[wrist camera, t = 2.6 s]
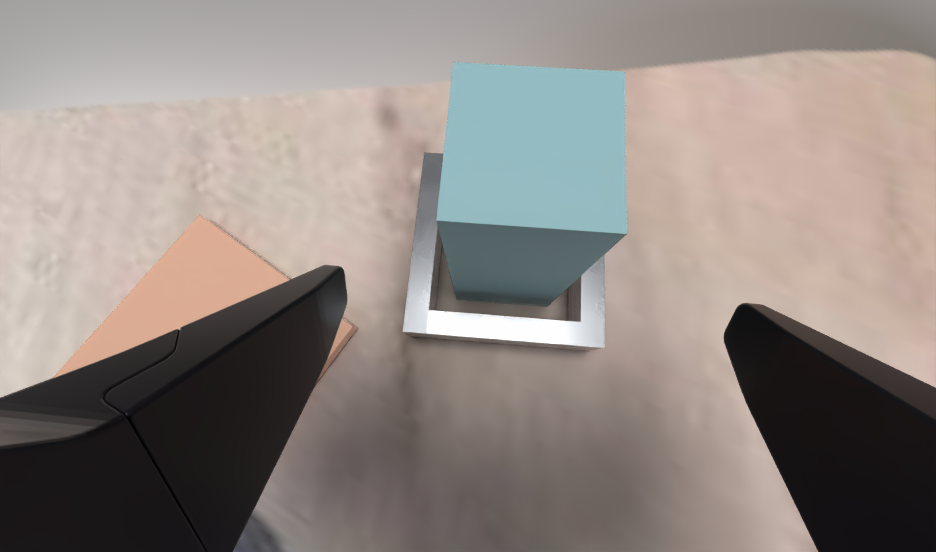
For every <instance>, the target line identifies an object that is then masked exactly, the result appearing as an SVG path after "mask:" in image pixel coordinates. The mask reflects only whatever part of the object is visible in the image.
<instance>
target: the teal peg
mask: <svg viewBox="0 0 936 552" xmlns="http://www.w3.org/2000/svg"><path fill="white" fill-rule="evenodd" d="M436 221H437V225H438V229H439V233H440V237H441V241H442V245H443V249H444V253H445V256H446V260H447V264H448V268H449V272H450V276H451V280H452V284H453V288H454V292H455V296H456V300H469V301H482V302H494V303H507V304H520V305H533V306H546V307H547V306H548V305H550V304H551V303H552V302H553V301H554V300H555V299H556V298H557V297H558V296H559V295H560V294H562V293H563V292H564V291H565V290H566V289H567V288H568V287H569V286H570V285H571V284H573V283H574V282H575V281H576V280H577V279H578V278H579V277H580V276H581V275H582V274H584V273H585V272H586V271H587V270H588V269H589V268H590V267H591V266H592V265H593V264H594V263H596V262H597V261H598V260H599V259H600V258H601V257H602V256H603V255H604V254H605V253H607V252H608V251H609V250H610V249H611V248H612V247H613V246H614V245H615V244H616V243H617V242H619V241H620V240H621V239H622V238H623V237H624V236H625V235H626V234H627V210H626V140H625V72H621V71H603V70H585V69H567V68H547V67H531V66H530V67H529V66H512V65H494V64H476V63H475V64H474V63H459V62H454V63H453V70H452V79H451V89H450V98H449V107H448V117H447V126H446V135H445V145H444V154H443V163H442V173H441V182H440V191H439V200H438V210H437V219H436Z"/></svg>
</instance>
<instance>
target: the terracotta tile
mask: <svg viewBox="0 0 936 552" xmlns="http://www.w3.org/2000/svg"><path fill="white" fill-rule="evenodd" d="M289 280H291V279H289V278H288V277H286V276H285V275H284V274H282V273H281V272H280V271H278V270H277V269H275V268H274V267H273V266H271V265H270V264H269V263H267V262H266V261H264V260H263V259H262V258H260V257H259V256H258V255H256V254H255V253H254V252H252V251H251V250H249V249H248V248H247V247H245V246H244V245H243V244H241V243H240V242H238V241H237V240H236V239H234V238H233V237H232V236H230V235H229V234H227V233H226V232H225V231H223V230H222V229H221V228H219V227H218V226H216V225H215V224H214V223H212V222H211V221H210V220H208V219H206V218H204V217H203V216H201V215H199V216H198V217H197V218H196V219H195V220H194V221H193V222H192V224H191V225H190V226H189V227H188V228H187V229H186V230H185V231H184V233H183V234H182V235H181V236H180V237H179V238H178V239H177V240H176V241H175V243H174V244H173V245H172V246H171V247H170V248H169V249H168V250H167V251H166V253H165V254H164V255H163V256H162V257H161V258H160V259H159V260H158V261H157V263H156V264H155V265H154V266H153V267H152V268H151V269H150V270H149V271H148V273H147V274H146V275H145V276H144V277H143V278H142V279H141V280H140V281H139V283H138V284H137V285H136V286H135V287H134V288H133V289H132V290H131V291H130V293H129V294H128V295H127V296H126V297H125V298H124V299H123V300H122V301H121V303H120V304H119V305H118V306H117V307H116V308H115V309H114V310H113V311H112V313H111V314H110V315H109V316H108V317H107V318H106V319H105V320H104V321H103V323H102V324H101V325H100V326H99V327H98V328H97V329H96V330H95V331H94V333H93V334H92V335H91V336H90V337H89V338H88V339H87V340H86V341H85V343H84V344H83V345H82V346H81V347H80V348H79V349H78V350H77V351H76V353H75V354H74V355H73V356H72V357H71V358H70V359H69V360H68V361H67V363H66V364H65V365H64V366H63V367H62V368H61V369H60V370H59V371H58V373H57V374H56V375H55V376H54V377H57V376H60V375H62V374H65V373H68V372H70V371H73V370H76V369H78V368H81V367H84V366H86V365H89V364H92V363H94V362H97V361H99V360H102V359H105V358H107V357H110V356H112V355H115V354H118V353H120V352H123V351H125V350H128V349H130V348H133V347H135V346H137V345H140V344H142V343H145V342H147V341H149V340H152V339H154V338H157V337H159V336H161V335H164V334H166V333H168V332H170V331H173V330H175V329H179V330H180V328H181V327H182V326H185V325H187V324H189V323H191V322H194V321H196V320H198V319H201V318H203V317H205V316H208V315H210V314H212V313H215V312H217V311H219V310H222V309H224V308H226V307H228V306H231V305H233V304H235V303H238V302H240V301H242V300H245V299H247V298H249V297H252V296H254V295H256V294H259V293H261V292H263V291H265V290H268V289H270V288H272V287H275V286H277V285H279V284H282V283H284V282H286V281H289ZM356 330H357V328H356V327H355V326H354V325H352V324H351V323H350V322H348V321H347V320H345V319H344V318H343V317H342V320H341V323H340V326H339V328H338V331H337V334H336V337H335V340H334V343H333V346H332V349H331V351H330V354H329V357H328V359H327V361H326V364H325V366H324V368H323V370H322V372H321V374H320V376H319V378H318V380H319V379H320V378H321V376H322V375H323V374H324V372H325V371H326V370H327V368H328V367H329V366H330V364H331V363H332V362H333V360H334V359H335V358H336V356H337V355H338V354H339V352H340V351H341V350H342V348H343V347H344V346H345V344H346V343H347V342H348V340H349V339H350V338H351V336H352V335H353V334H354V332H355V331H356ZM54 377H53V378H54ZM318 380H317V382H318ZM317 382H316V383H317Z"/></svg>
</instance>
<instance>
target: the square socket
mask: <svg viewBox="0 0 936 552" xmlns="http://www.w3.org/2000/svg"><path fill="white" fill-rule="evenodd" d="M442 163H443V154H439V153H424V159H423V167H422V176H421V184H420V192H419V200H418V209H417V217H416V225H415V234H414V242H413V250H412V259H411V267H410V275H409V284H408V292H407V300H406V309H405V317H404V325H403V332H405V333H406V334H408V335H410V336H412V337H423V338H435V339H447V340H459V341H472V342H484V343H496V344H509V345H521V346H533V347H546V348H558V349H570V350H582V351H590V350H596V349H601V348H604V309H605V254H604V255H603V256H602V257H601V258H600V259H599V260H598V261H597V262H596V263H594V264H593V265H592V266H591V267H590V268H589V269H588V270H587V271H586V272H585V273H584V274H582V275H581V276H580V277H579V278H578V279H577V280H576V281H575V282H574V283H573V284H571V285H570V286H569V287H568V320H567V321H561V320H548V319H536V318H523V317H510V316H497V315H485V314H472V313H459V312H447V311H435V307H436V297H437V288H438V278H439V268H440V258H441V249H442V241H441V237H440V233H439V229H438V225H437V221H436V219H437V210H438V200H439V191H440V182H441V173H442Z"/></svg>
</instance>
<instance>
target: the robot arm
mask: <svg viewBox="0 0 936 552" xmlns="http://www.w3.org/2000/svg"><path fill="white" fill-rule="evenodd" d="M346 305H347V290H346V281H345V274H344V270H343V268H342V267H340V266H331V265H323V266H321V267H319V268H316V269H314V270H312V271H309V272H307V273H305V274H302V275H300V276H298V277H296V278H293V279H291V280H289V281H286V282H284V283H282V284H279V285H277V286H275V287H272V288H270V289H268V290H265V291H263V292H261V293H259V294H256V295H254V296H252V297H249V298H247V299H245V300H242V301H240V302H238V303H235V304H233V305H231V306H228V307H226V308H224V309H222V310H219V311H217V312H215V313H212V314H210V315H208V316H205V317H203V318H201V319H198V320H196V321H194V322H191V323H189V324H187V325H185V326H182V327H181V328H180V330H179V329H175V330H173V331H170V332H168V333H166V334H164V335H161V336H159V337H157V338H154V339H152V340H149V341H147V342H145V343H142V344H140V345H137V346H135V347H133V348H130V349H128V350H125V351H123V352H120V353H118V354H115V355H112V356H110V357H107V358H105V359H102V360H99V361H97V362H94V363H92V364H89V365H86V366H84V367H81V368H78V369H76V370H73V371H70V372H68V373H65V374H62V375H60V376H57V377H54V378H52V379H49V380H46V381H44V382H41V383H38V384H36V385H33V386H30V387H28V388H25V389H22V390H20V391H17V392H14V393H12V394H9V395H6V396H4V397H1V398H0V552H233V550H234V548H235V546H236V544H237V542H238V540H239V538H240V536H241V534H242V532H243V530H244V528H245V526H246V524H247V522H248V520H249V518H250V516H251V514H252V512H253V510H254V508H255V506H256V504H257V502H258V500H259V498H260V496H261V494H262V492H263V490H264V488H265V486H266V484H267V481H268V479H269V477H270V475H271V473H272V471H273V469H274V467H275V465H276V463H277V461H278V459H279V457H280V455H281V453H282V451H283V449H284V447H285V445H286V443H287V441H288V439H289V437H290V435H291V433H292V431H293V429H294V427H295V425H296V423H297V421H298V419H299V417H300V415H301V413H302V411H303V409H304V407H305V404H306V402H307V400H308V398H309V396H310V394H311V392H312V390H313V388H314V386H315V384H316V382H317V380H318V378H319V376H320V374H321V372H322V370H323V368H324V366H325V364H326V361H327V359H328V357H329V354H330V351H331V349H332V346H333V343H334V340H335V337H336V334H337V331H338V328H339V326H340V323H341V320H342V317H343V314H344V311H345V308H346ZM724 343H725V346H726V349H727V352H728V354H729V357H730V360H731V363H732V366H733V368H734V371H735V374H736V377H737V380H738V382H739V385H740V388H741V391H742V393H743V396H744V398H745V401H746V403H747V406H748V408H749V410H750V412H751V414H752V416H753V418H754V420H755V422H756V424H757V427H758V429H759V431H760V433H761V435H762V437H763V439H764V441H765V443H766V445H767V447H768V449H769V451H770V453H771V455H772V457H773V460H774V462H775V464H776V466H777V468H778V470H779V472H780V474H781V476H782V478H783V480H784V482H785V484H786V486H787V488H788V490H789V492H790V495H791V497H792V499H793V501H794V503H795V505H796V507H797V509H798V511H799V513H800V515H801V517H802V519H803V521H804V523H805V525H806V528H807V530H808V532H809V534H810V536H811V538H812V540H813V542H814V544H815V546H816V548H817V550H818V552H936V388H935V387H933V386H931V385H929V384H927V383H925V382H923V381H920V380H918V379H916V378H914V377H912V376H910V375H908V374H906V373H904V372H902V371H900V370H897V369H895V368H893V367H891V366H889V365H887V364H885V363H883V362H881V361H879V360H877V359H875V358H872V357H870V356H868V355H866V354H864V353H862V352H860V351H858V350H856V349H854V348H852V347H850V346H847V345H845V344H843V343H841V342H839V341H837V340H835V339H833V338H831V337H829V336H827V335H825V334H822V333H820V332H818V331H816V330H814V329H812V328H810V327H808V326H806V325H804V324H802V323H800V322H797V321H795V320H793V319H791V318H789V317H787V316H785V315H783V314H781V313H779V312H777V311H775V310H772V309H770V308H768V307H766V306H764V305H760V304H751V303H743V304H740V305H739V306H738V307H737V308H736V310H735V312H734V314H733V316H732V318H731V320H730V322H729V324H728V326H727V328H726V330H725V332H724Z"/></svg>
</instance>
